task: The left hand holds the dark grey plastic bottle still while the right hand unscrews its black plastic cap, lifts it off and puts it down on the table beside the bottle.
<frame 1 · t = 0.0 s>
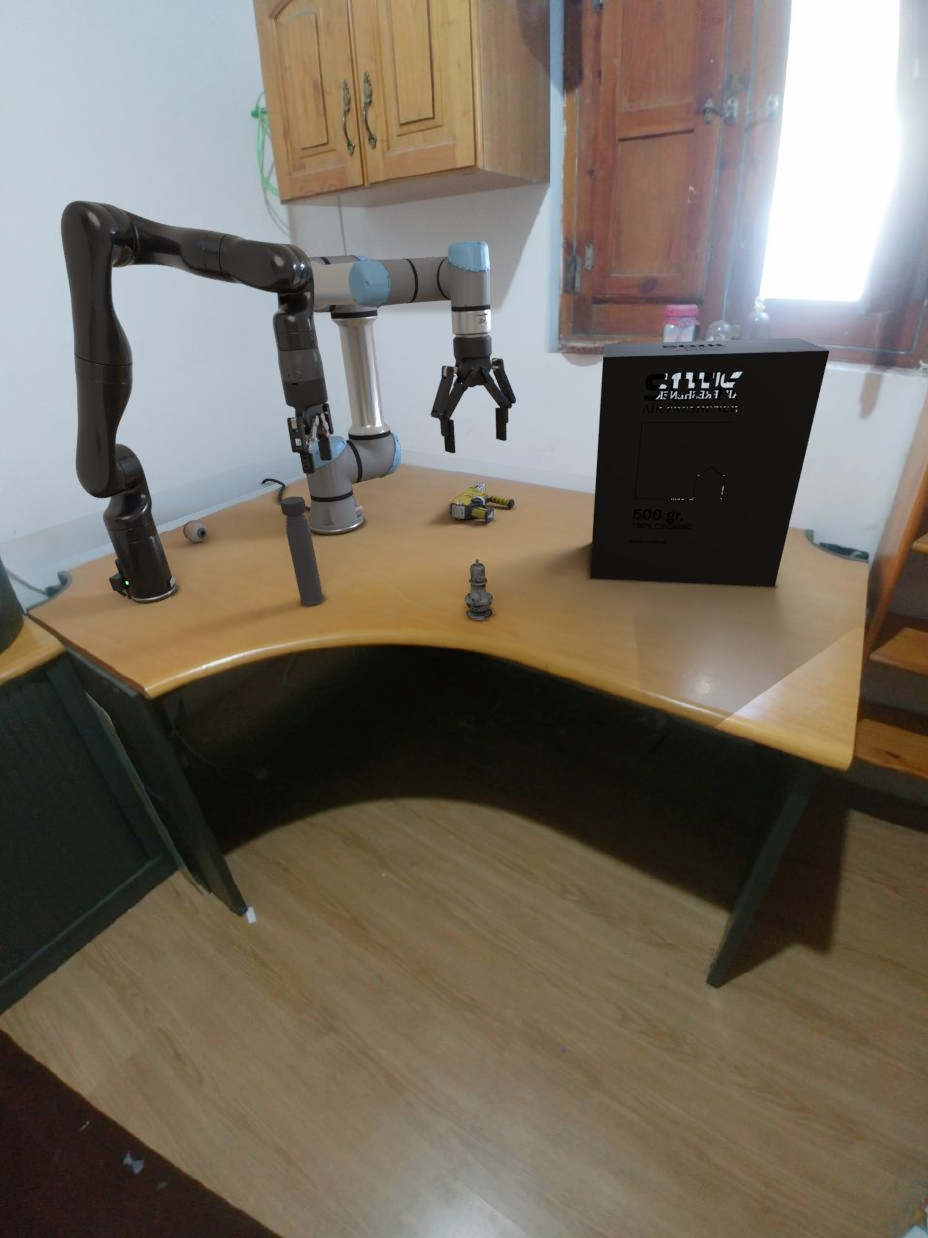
left hand: (318, 466, 115), 29 cm above the table, tool pointing down, fingers open, 8 cm apart
right hand: (476, 445, 127), 28 cm above the table, tool pointing down, fingers open, 13 cm apart
eyeball: (198, 542, 164), on the table
cap: (292, 501, 119), point 22 cm above the table, screwed on, not yet turned
bottle: (312, 600, 130), on the table
toy gun: (486, 509, 174), on the table
cardboard box: (675, 562, 137), on the table
grey chess piece: (479, 614, 122), on the table
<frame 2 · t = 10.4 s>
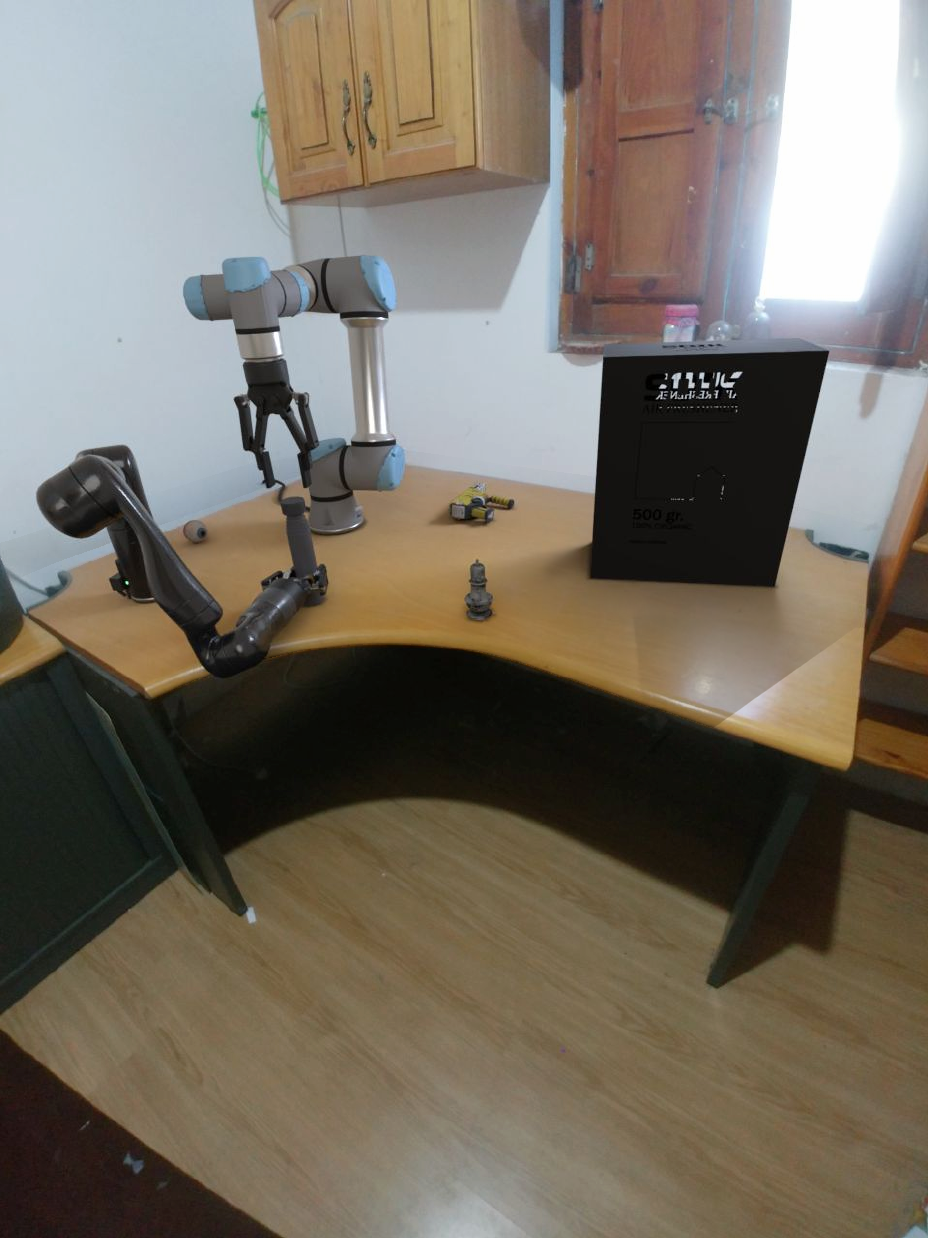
left hand: (311, 567, 129), 7 cm above the table, tool horizontal, fingers closed on bottle, 4 cm apart
right hand: (289, 485, 118), 26 cm above the table, tool pointing down, fingers open, 7 cm apart
bottle: (312, 600, 130), on the table, touching left hand
everything else where it was.
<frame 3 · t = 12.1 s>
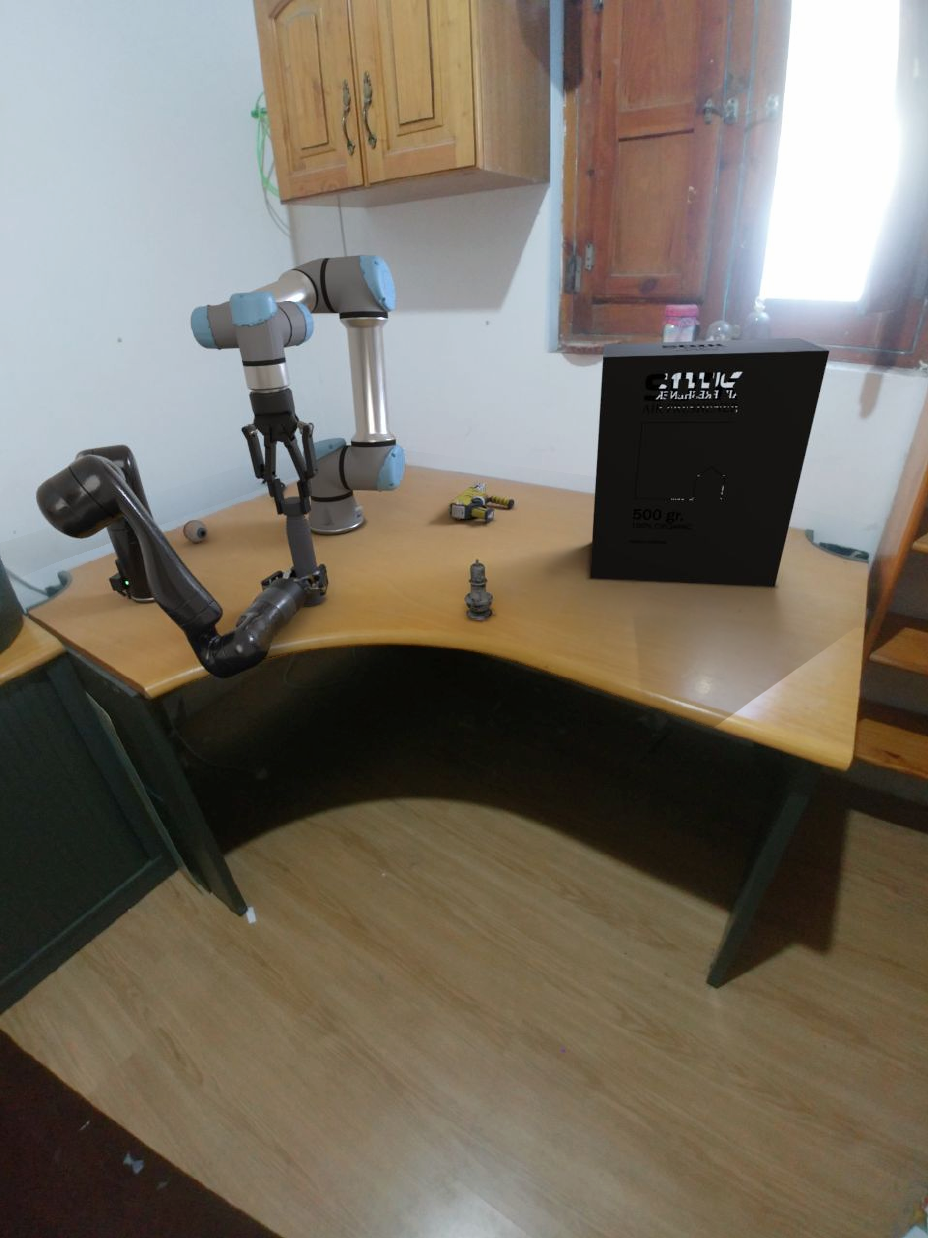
left hand: (311, 567, 129), 7 cm above the table, tool horizontal, fingers closed on bottle, 4 cm apart
right hand: (294, 511, 120), 20 cm above the table, tool pointing down, fingers closed on cap, 4 cm apart
cap: (292, 501, 119), point 22 cm above the table, screwed on, not yet turned, touching right hand
bottle: (312, 600, 130), on the table, touching left hand
everything else where it was.
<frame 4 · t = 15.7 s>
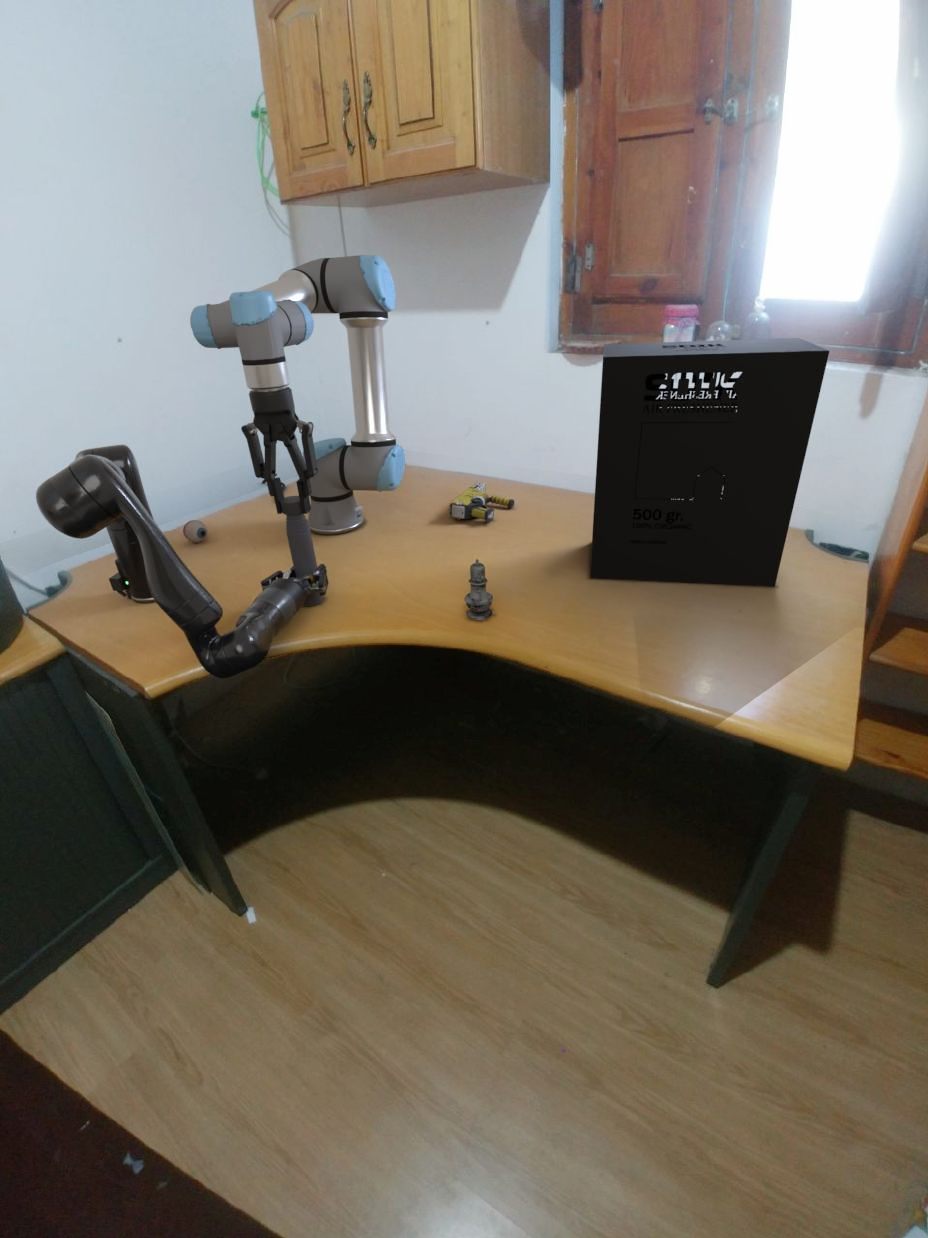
left hand: (311, 567, 129), 7 cm above the table, tool horizontal, fingers closed on bottle, 4 cm apart
right hand: (294, 511, 120), 20 cm above the table, tool pointing down, fingers closed on cap, 4 cm apart
cap: (292, 500, 119), point 23 cm above the table, turned 137° so far, risen 0.2 cm, still on its thread, touching right hand
bottle: (312, 600, 130), on the table, touching left hand
everything else where it was.
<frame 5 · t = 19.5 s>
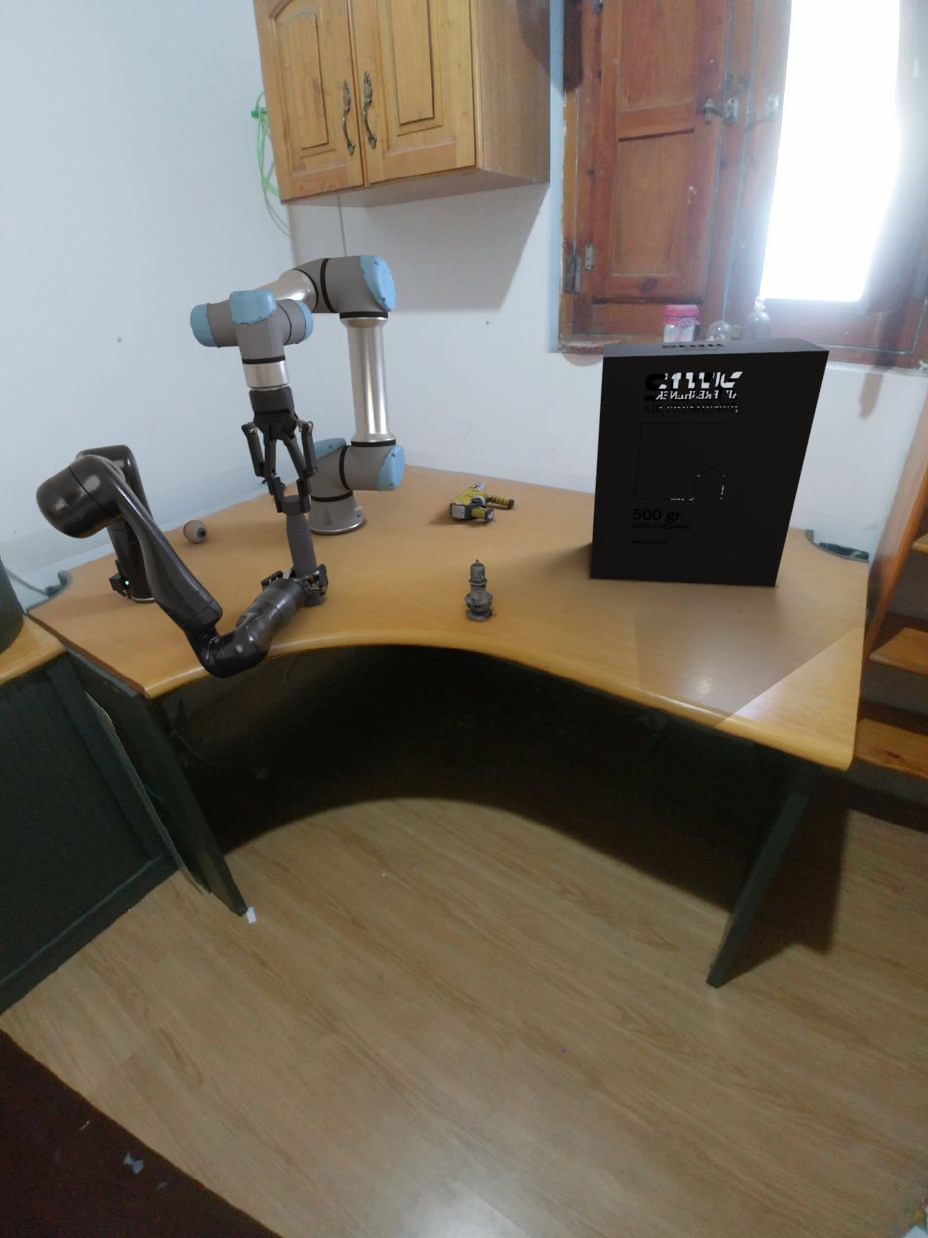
left hand: (311, 567, 129), 7 cm above the table, tool horizontal, fingers closed on bottle, 4 cm apart
right hand: (294, 510, 120), 21 cm above the table, tool pointing down, fingers closed on cap, 4 cm apart
cap: (292, 500, 119), point 23 cm above the table, turned 275° so far, risen 0.3 cm, still on its thread, touching right hand
bottle: (312, 600, 130), on the table, touching left hand
everything else where it was.
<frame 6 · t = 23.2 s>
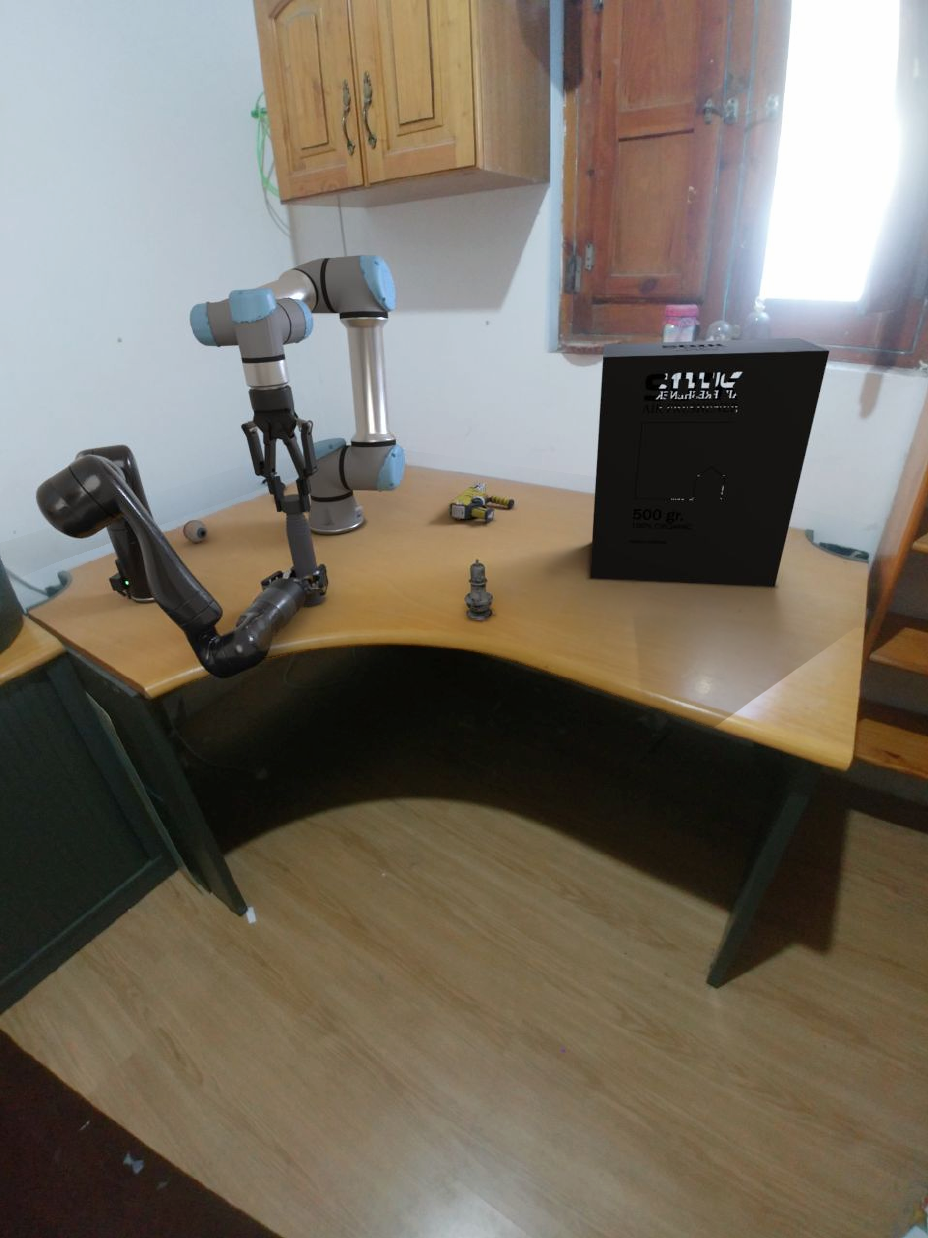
left hand: (311, 567, 129), 7 cm above the table, tool horizontal, fingers closed on bottle, 4 cm apart
right hand: (294, 509, 120), 21 cm above the table, tool pointing down, fingers closed on cap, 4 cm apart
cap: (291, 499, 119), point 23 cm above the table, turned 412° so far, risen 0.5 cm, still on its thread, touching right hand
bottle: (312, 600, 130), on the table, touching left hand
everything else where it was.
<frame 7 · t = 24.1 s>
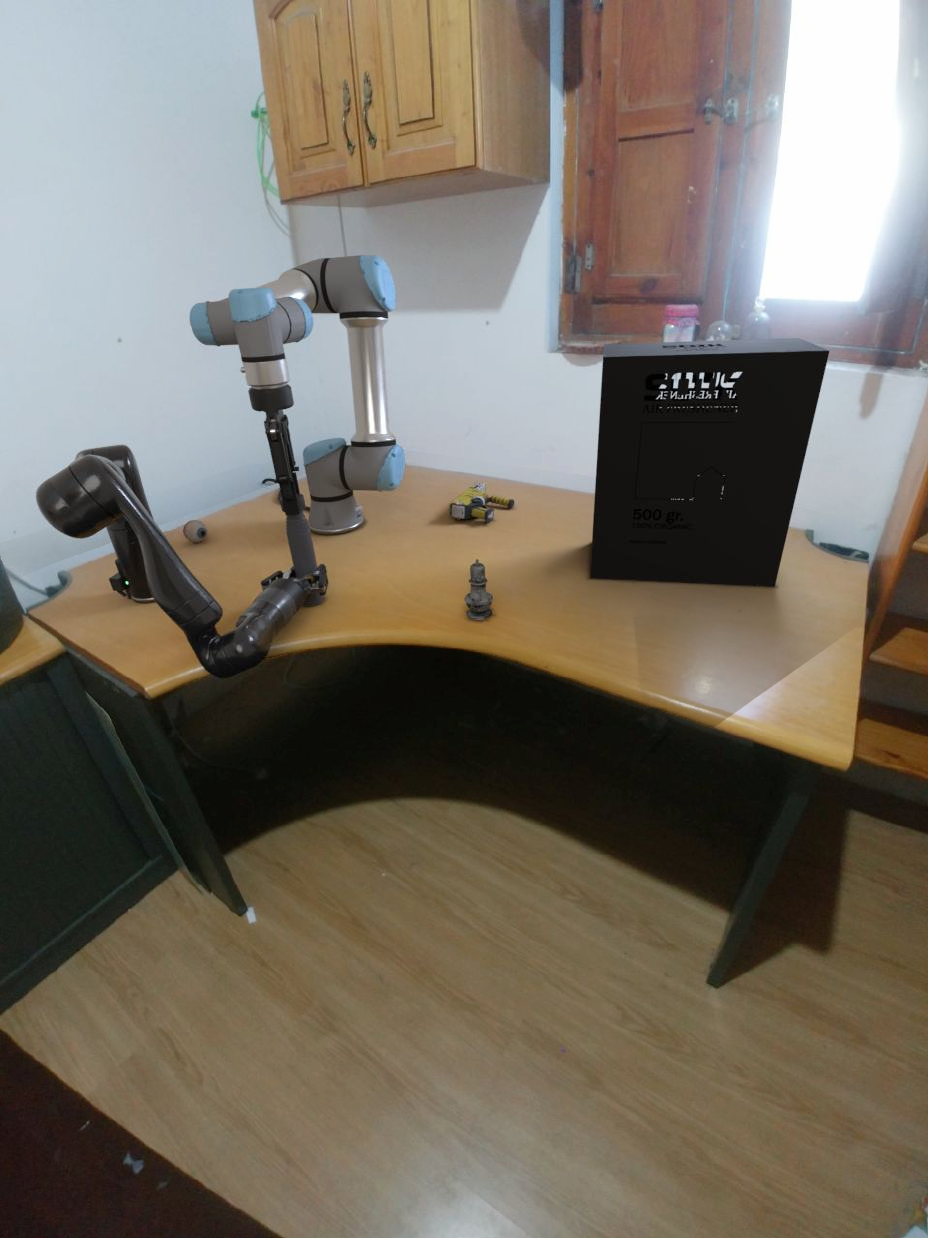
left hand: (311, 567, 129), 7 cm above the table, tool horizontal, fingers closed on bottle, 4 cm apart
right hand: (293, 509, 120), 21 cm above the table, tool pointing down, fingers closed on cap, 4 cm apart
cap: (291, 498, 119), point 23 cm above the table, turned 521° so far, risen 0.6 cm, still on its thread, touching right hand
bottle: (312, 600, 130), on the table, touching left hand
everything else where it was.
when the right hand's fingers open (1 cm above the table, at t = 31.7 s): cap stays where it is, point 2 cm above the table.
when the left hand's fingers open (7 cm above the table, at t = 33.0 s): bottle stays where it is, on the table.
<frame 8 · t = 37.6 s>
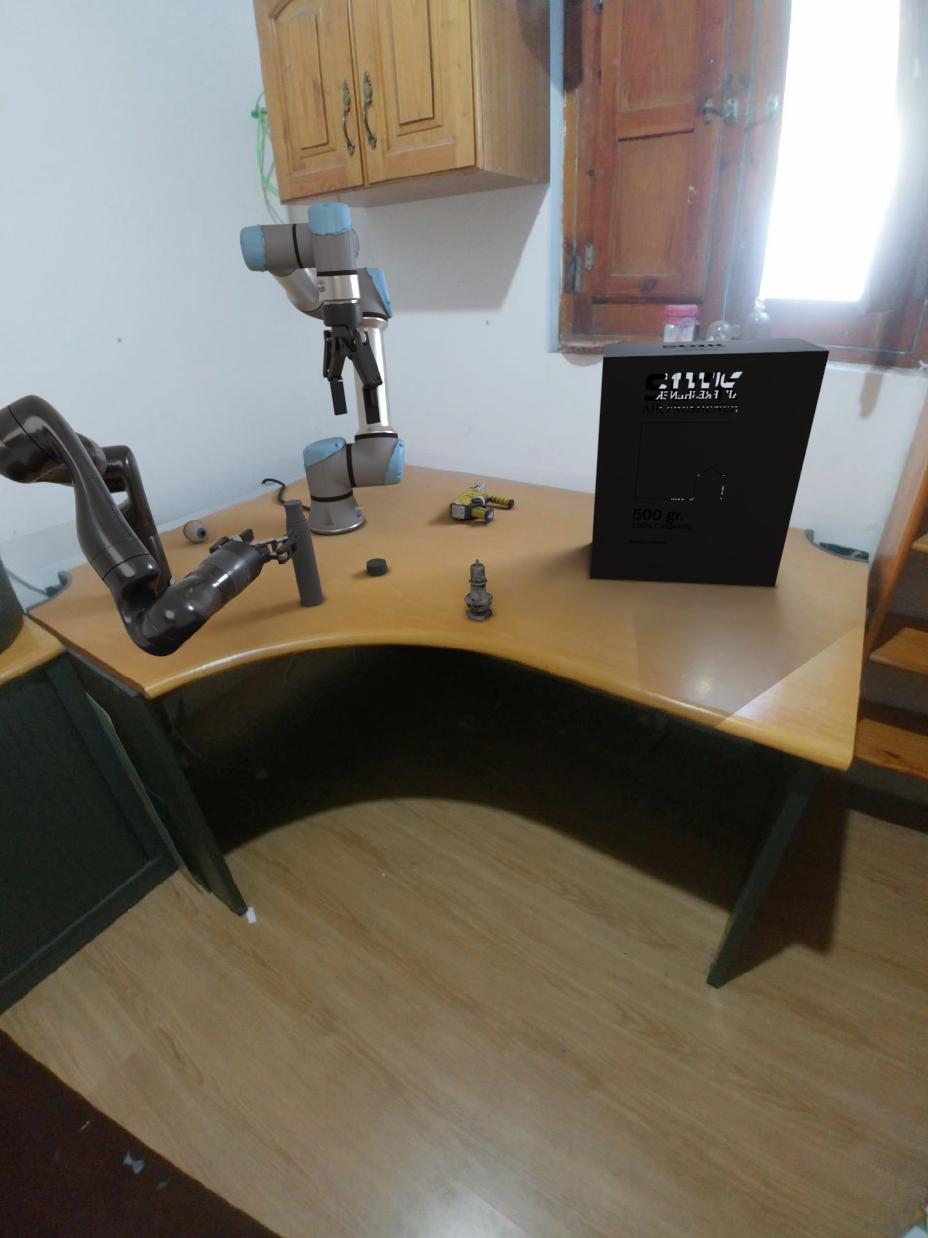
left hand: (272, 533, 112), 20 cm above the table, tool horizontal, fingers open, 8 cm apart
right hand: (356, 418, 124), 35 cm above the table, tool pointing down, fingers open, 13 cm apart
cap: (376, 563, 140), point 2 cm above the table, off its thread
bottle: (312, 601, 130), on the table
everything else where it was.
at the end: cap came off its thread; cap point 2.2 cm above the table; the left hand is holding nothing; the right hand is holding nothing; bottle tilted 0°; bottle moved 0.1 cm from its start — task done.
